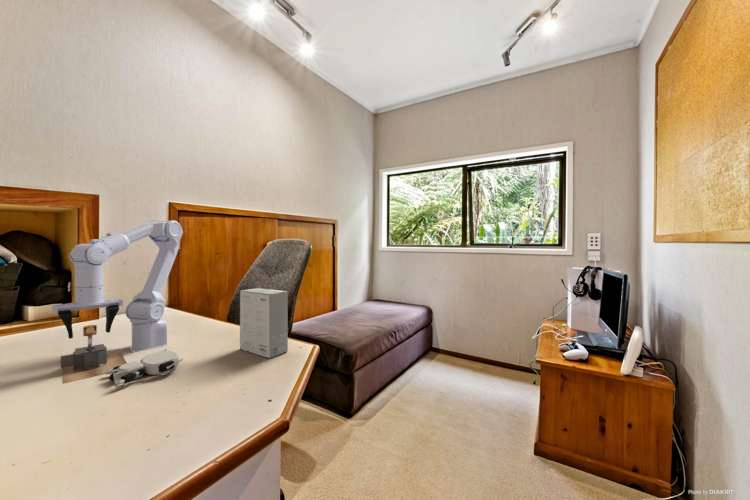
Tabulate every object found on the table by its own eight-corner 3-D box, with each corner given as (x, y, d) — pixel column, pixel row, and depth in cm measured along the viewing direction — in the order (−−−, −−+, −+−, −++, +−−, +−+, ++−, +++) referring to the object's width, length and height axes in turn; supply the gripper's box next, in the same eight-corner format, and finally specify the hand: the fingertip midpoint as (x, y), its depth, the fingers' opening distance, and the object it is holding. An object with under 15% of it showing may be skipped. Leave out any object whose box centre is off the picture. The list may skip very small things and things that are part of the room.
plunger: (100, 347, 89) (100, 323, 89) (102, 351, 86) (102, 326, 86) (77, 351, 86) (77, 326, 86) (78, 356, 83) (78, 329, 82)
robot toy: (117, 397, 72) (186, 371, 84) (115, 378, 72) (185, 355, 83) (104, 382, 79) (169, 360, 91) (102, 365, 79) (168, 345, 91)
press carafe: (105, 359, 91) (105, 343, 91) (108, 365, 86) (107, 348, 86) (60, 367, 84) (60, 350, 84) (60, 375, 79) (60, 357, 79)
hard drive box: (288, 351, 100) (288, 291, 100) (269, 359, 93) (269, 294, 93) (258, 343, 108) (258, 287, 108) (238, 349, 102) (238, 289, 101)
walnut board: (120, 353, 97) (120, 351, 97) (129, 370, 84) (129, 368, 84) (62, 364, 88) (62, 363, 88) (62, 385, 75) (62, 383, 75)
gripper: (120, 282, 94) (120, 326, 94) (51, 287, 83) (51, 337, 83) (124, 285, 89) (125, 331, 89) (52, 290, 78) (53, 343, 78)
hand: (89, 334), depth 86 cm, fingers open, 7 cm apart
